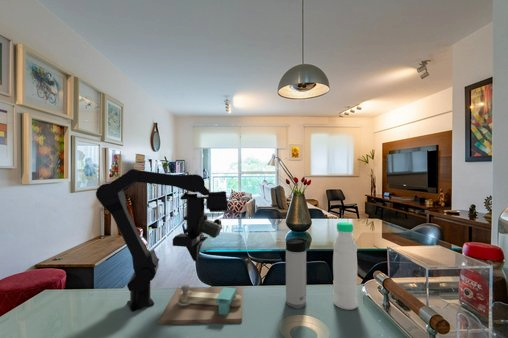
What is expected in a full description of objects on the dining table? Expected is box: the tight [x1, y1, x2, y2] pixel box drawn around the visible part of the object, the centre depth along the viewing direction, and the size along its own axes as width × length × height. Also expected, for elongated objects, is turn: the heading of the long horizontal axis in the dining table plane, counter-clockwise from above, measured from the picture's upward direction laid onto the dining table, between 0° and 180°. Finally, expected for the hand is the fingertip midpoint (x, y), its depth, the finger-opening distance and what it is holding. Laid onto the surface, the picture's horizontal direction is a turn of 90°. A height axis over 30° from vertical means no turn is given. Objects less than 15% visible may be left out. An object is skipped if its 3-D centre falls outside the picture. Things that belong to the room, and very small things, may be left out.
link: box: [179, 284, 241, 307], centre depth 76 cm, size 20×4×4 cm, turn 82°
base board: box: [157, 286, 244, 325], centre depth 78 cm, size 22×19×1 cm
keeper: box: [178, 286, 236, 315], centre depth 75 cm, size 18×7×4 cm, turn 79°
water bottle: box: [332, 221, 359, 311], centre depth 78 cm, size 7×7×25 cm
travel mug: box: [285, 237, 308, 309], centre depth 78 cm, size 6×7×20 cm
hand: (195, 260), depth 82 cm, fingers closed
